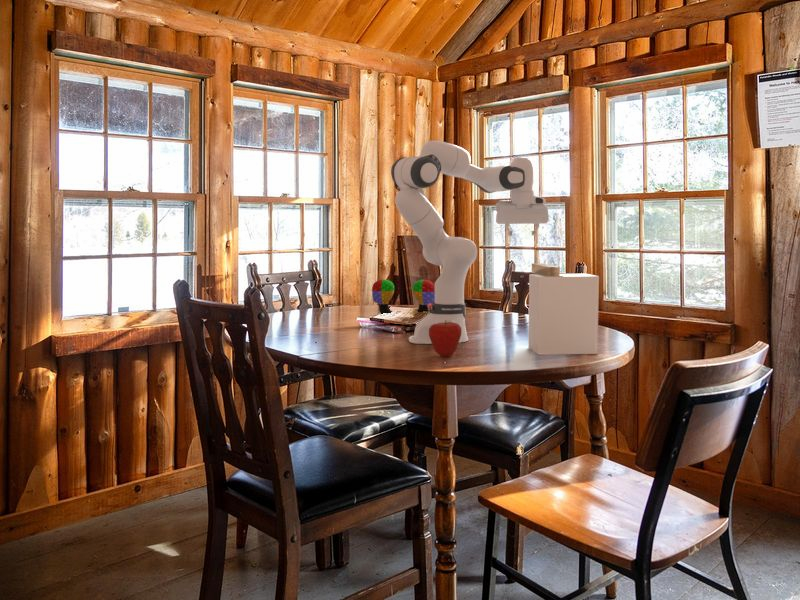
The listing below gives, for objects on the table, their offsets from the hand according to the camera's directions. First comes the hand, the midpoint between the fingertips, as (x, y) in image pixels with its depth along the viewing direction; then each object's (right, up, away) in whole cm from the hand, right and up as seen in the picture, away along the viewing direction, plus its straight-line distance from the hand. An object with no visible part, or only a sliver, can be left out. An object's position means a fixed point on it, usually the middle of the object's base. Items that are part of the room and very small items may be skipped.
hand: (521, 235), depth 268 cm
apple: (-33, -44, -40) cm, 68 cm away
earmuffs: (-46, -36, +35) cm, 68 cm away
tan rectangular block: (+3, -16, -30) cm, 34 cm away
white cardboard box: (+8, -43, -32) cm, 54 cm away
